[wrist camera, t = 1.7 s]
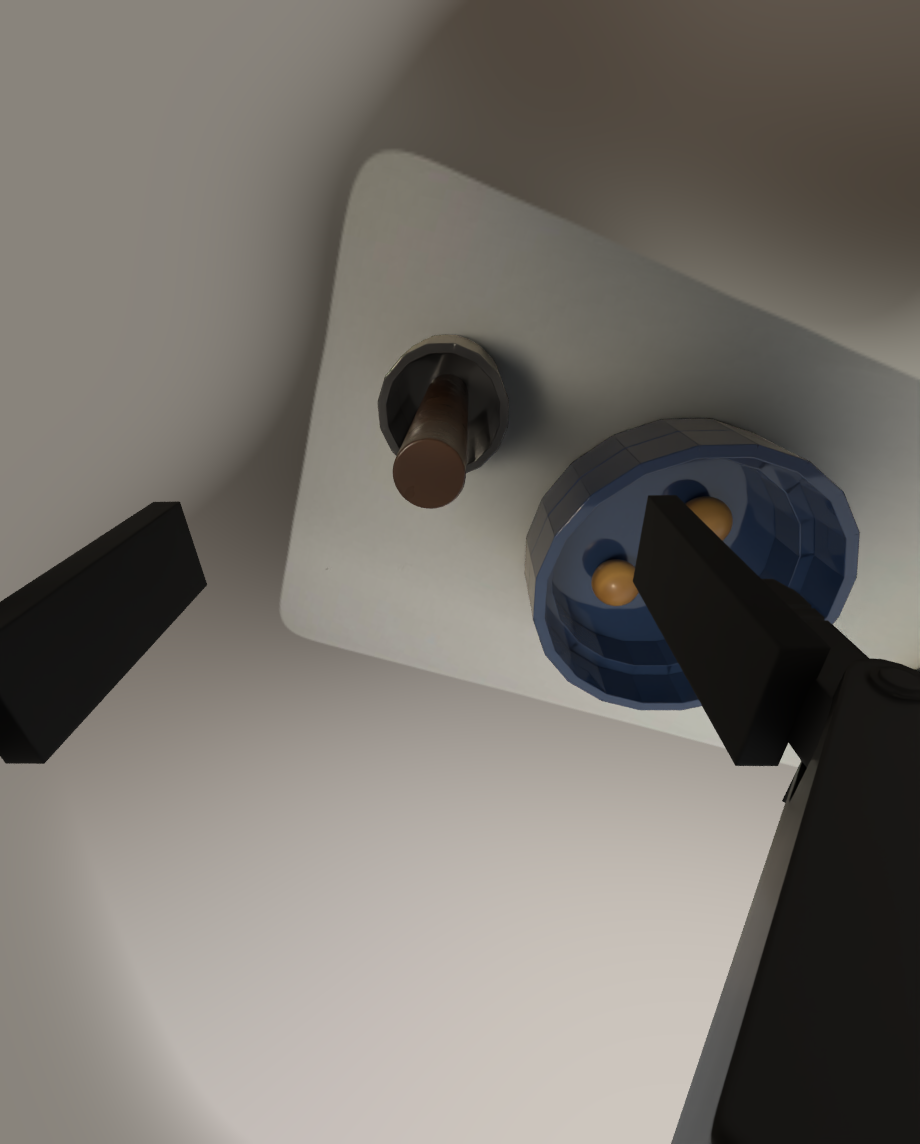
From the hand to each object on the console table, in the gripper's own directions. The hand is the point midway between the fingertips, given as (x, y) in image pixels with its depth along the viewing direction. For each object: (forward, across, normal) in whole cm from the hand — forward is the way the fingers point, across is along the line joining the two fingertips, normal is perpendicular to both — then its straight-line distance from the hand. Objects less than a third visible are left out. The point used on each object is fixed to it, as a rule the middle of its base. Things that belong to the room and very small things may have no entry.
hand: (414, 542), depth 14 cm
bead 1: (+20, +12, -13) cm, 27 cm away
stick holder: (+22, 0, 0) cm, 22 cm away
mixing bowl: (+22, +16, -12) cm, 30 cm away
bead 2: (+20, +18, -8) cm, 28 cm away
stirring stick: (+21, 0, 0) cm, 21 cm away
